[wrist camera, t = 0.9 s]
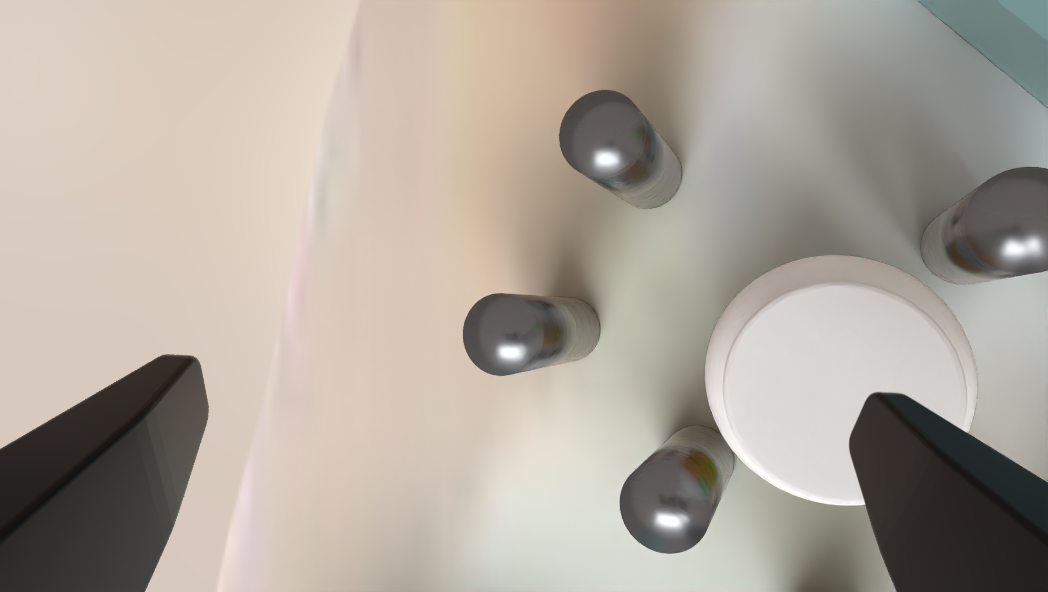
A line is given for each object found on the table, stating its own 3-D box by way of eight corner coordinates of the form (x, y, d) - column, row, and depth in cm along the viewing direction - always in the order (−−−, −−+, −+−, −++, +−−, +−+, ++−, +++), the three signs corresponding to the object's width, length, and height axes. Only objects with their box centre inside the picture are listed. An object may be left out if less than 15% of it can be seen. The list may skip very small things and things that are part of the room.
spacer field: (1330, 456, 17) (1586, 526, 12) (868, 741, 21) (892, 899, 15) (793, -12, 22) (790, -123, 16) (493, 284, 25) (406, 277, 20)
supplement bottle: (732, 442, 22) (683, 531, 13) (730, 273, 22) (680, 247, 13) (926, 454, 20) (1024, 568, 11) (922, 268, 20) (1016, 233, 11)
